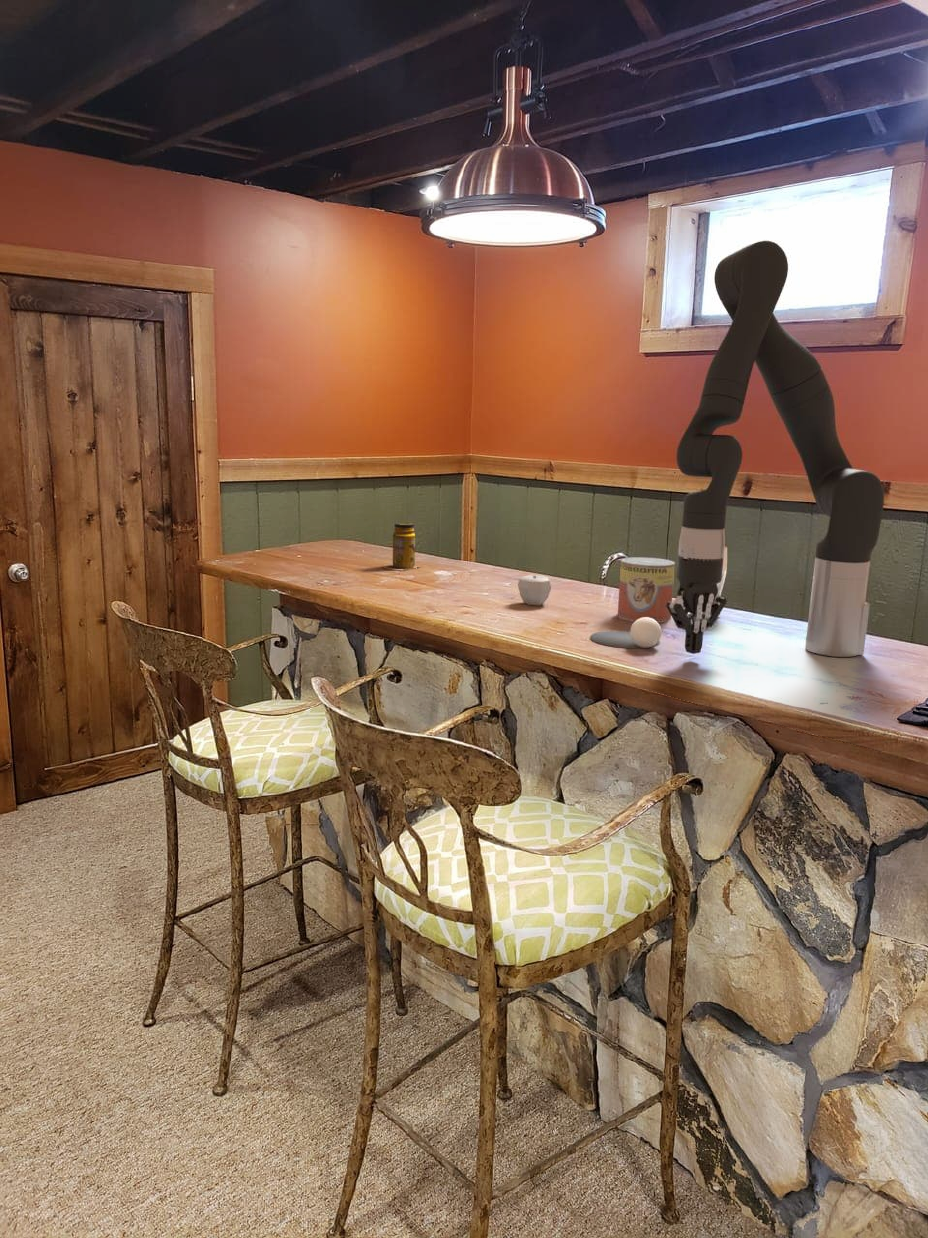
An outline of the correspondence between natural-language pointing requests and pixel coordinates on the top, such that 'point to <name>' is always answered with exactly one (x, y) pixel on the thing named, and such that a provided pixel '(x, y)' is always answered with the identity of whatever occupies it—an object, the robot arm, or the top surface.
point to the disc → (615, 639)
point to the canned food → (645, 588)
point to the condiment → (403, 547)
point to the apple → (534, 589)
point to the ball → (645, 632)
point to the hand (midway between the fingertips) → (692, 652)
